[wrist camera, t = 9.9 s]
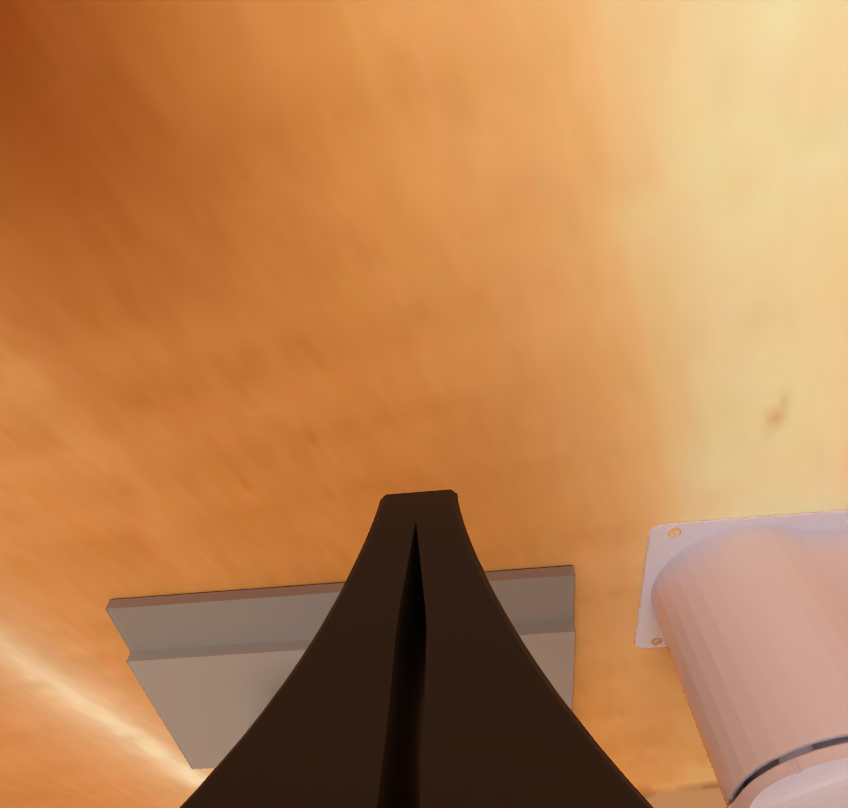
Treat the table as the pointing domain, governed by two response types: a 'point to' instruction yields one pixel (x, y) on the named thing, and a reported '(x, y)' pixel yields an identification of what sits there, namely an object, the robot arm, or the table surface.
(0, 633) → the table surface
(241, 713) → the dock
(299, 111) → the table surface
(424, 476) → the table surface
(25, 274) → the table surface
